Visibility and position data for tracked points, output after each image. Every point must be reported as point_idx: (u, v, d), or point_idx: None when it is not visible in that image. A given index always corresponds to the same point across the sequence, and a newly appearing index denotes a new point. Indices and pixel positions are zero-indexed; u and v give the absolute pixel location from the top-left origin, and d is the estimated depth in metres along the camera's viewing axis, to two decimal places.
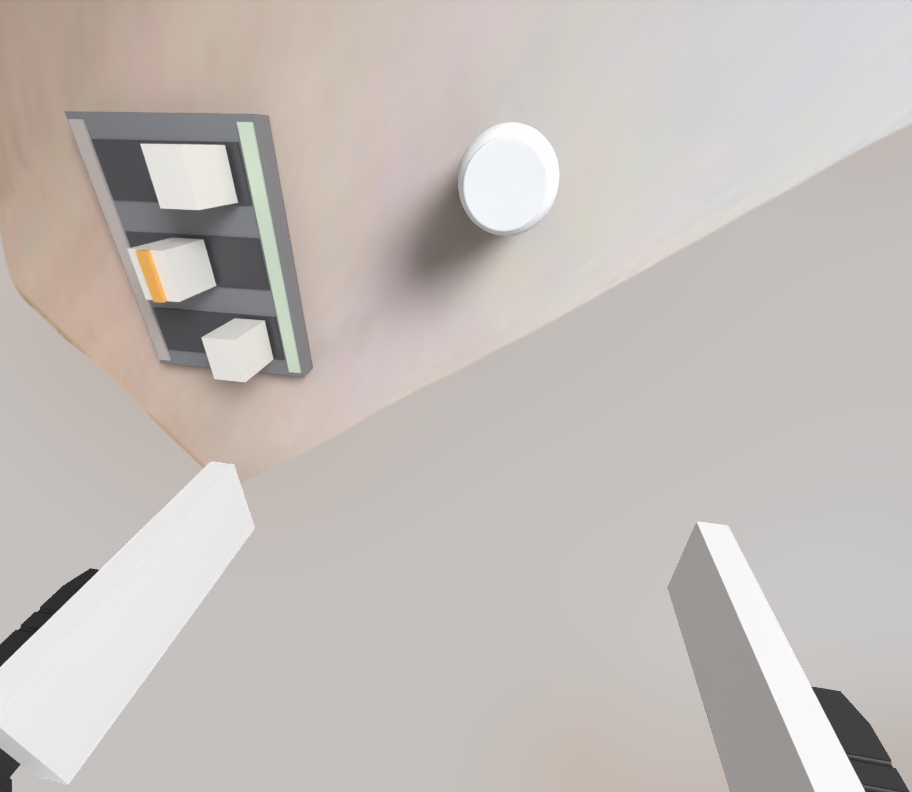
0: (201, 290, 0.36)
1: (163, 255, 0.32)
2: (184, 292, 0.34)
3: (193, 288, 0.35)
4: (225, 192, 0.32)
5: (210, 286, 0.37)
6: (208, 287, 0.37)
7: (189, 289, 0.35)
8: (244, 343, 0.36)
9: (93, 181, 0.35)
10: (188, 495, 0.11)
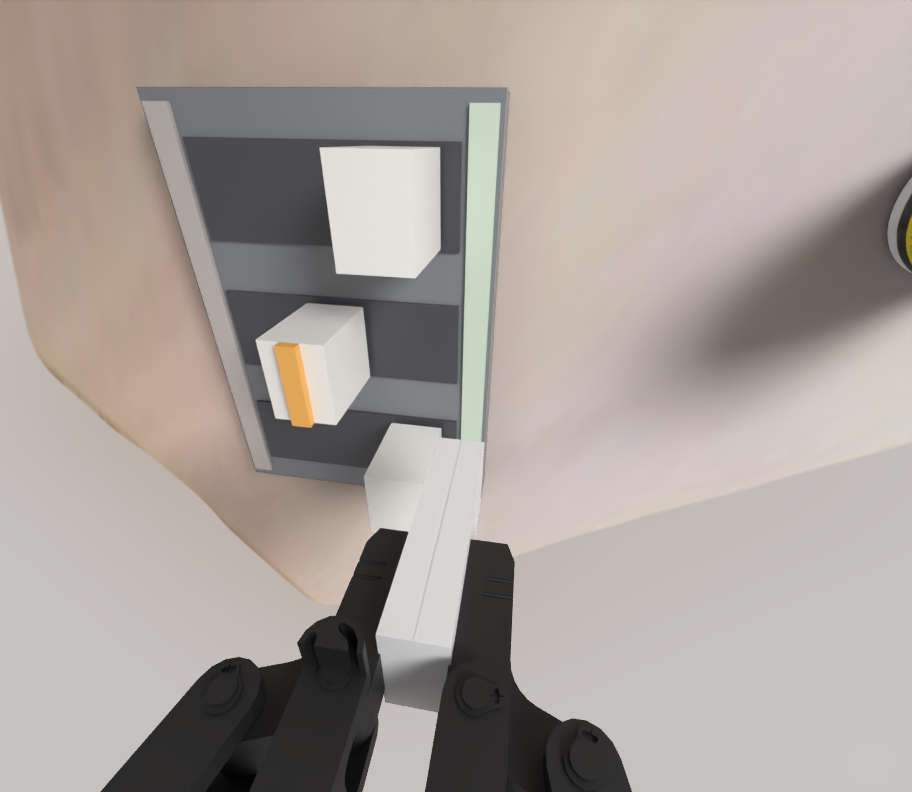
0: (357, 392, 0.22)
1: (323, 352, 0.17)
2: (342, 405, 0.20)
3: (350, 393, 0.21)
4: (434, 234, 0.17)
5: (365, 380, 0.23)
6: (363, 383, 0.22)
7: (346, 397, 0.20)
8: None
9: (178, 210, 0.20)
10: (441, 465, 0.12)
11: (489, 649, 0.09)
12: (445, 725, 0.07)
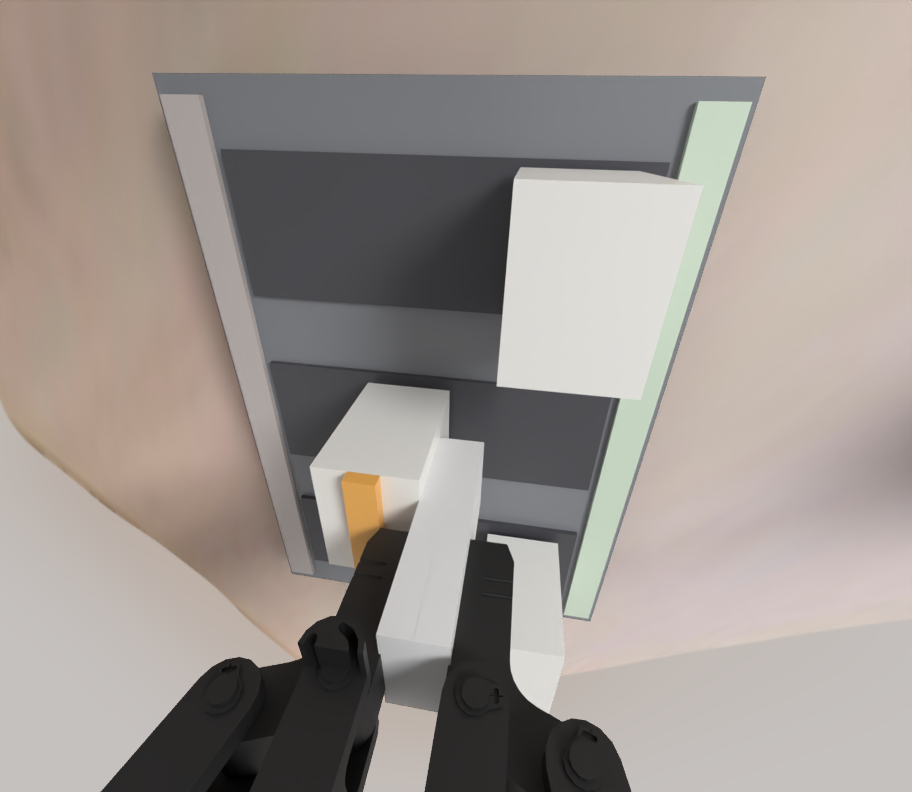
0: None
1: (417, 489, 0.11)
2: None
3: None
4: None
5: None
6: None
7: None
8: None
9: (208, 255, 0.14)
10: (441, 465, 0.12)
11: (489, 649, 0.09)
12: (444, 725, 0.07)
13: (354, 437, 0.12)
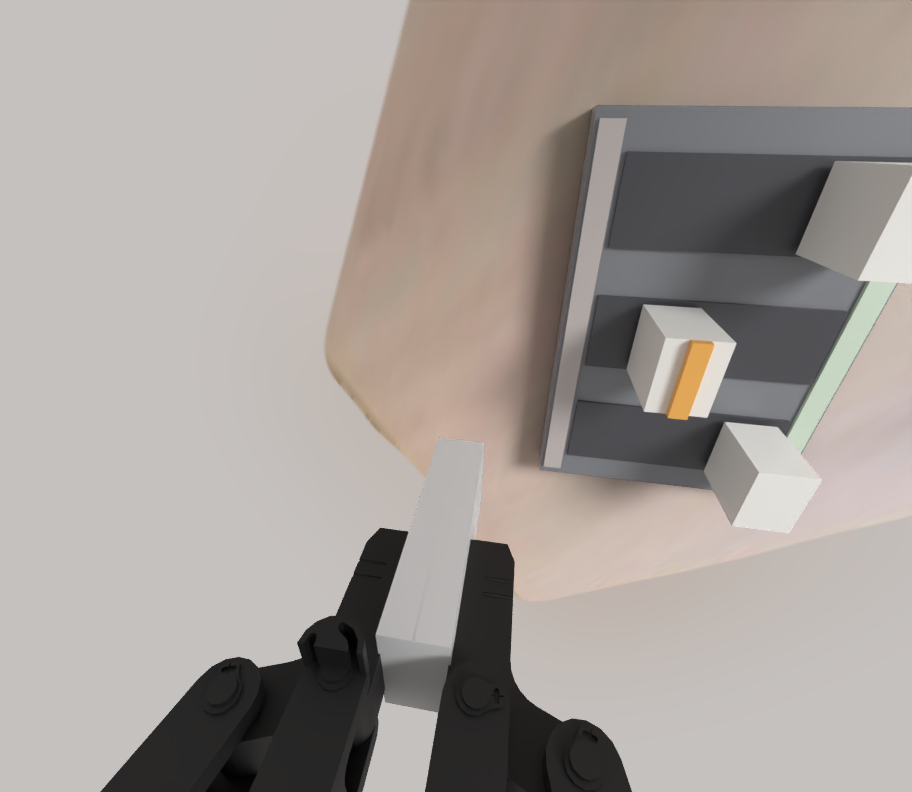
0: None
1: (733, 349, 0.19)
2: None
3: None
4: None
5: None
6: None
7: None
8: None
9: (586, 220, 0.22)
10: (441, 465, 0.12)
11: (489, 649, 0.09)
12: (445, 725, 0.07)
13: (673, 327, 0.20)
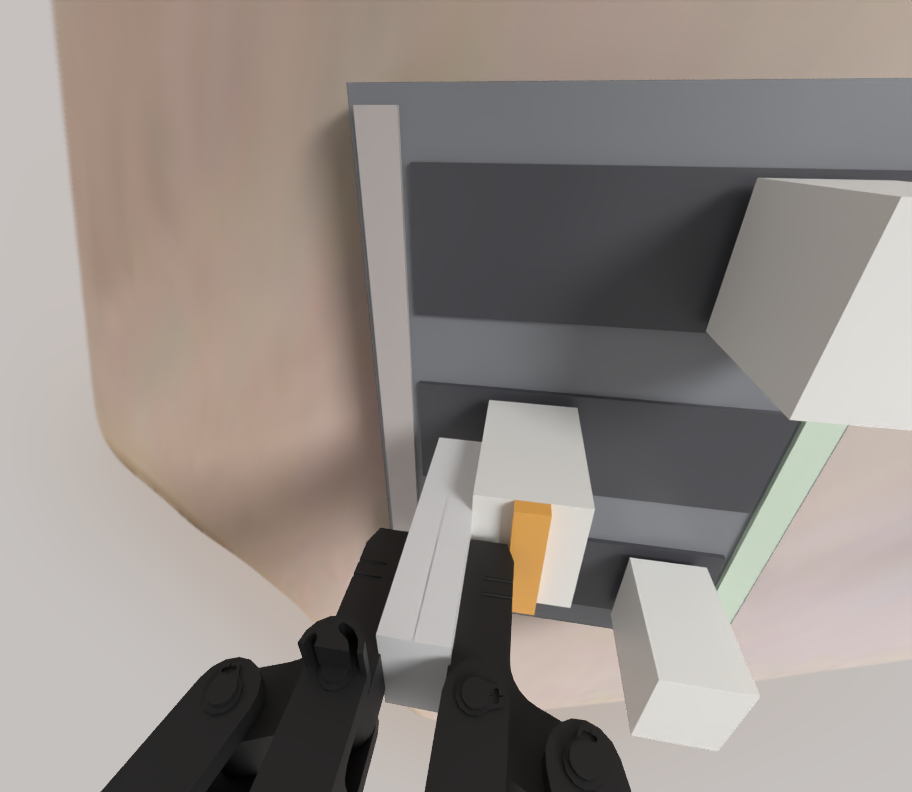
0: None
1: (591, 518, 0.10)
2: None
3: None
4: None
5: None
6: None
7: None
8: None
9: (373, 272, 0.13)
10: (441, 465, 0.12)
11: (489, 649, 0.09)
12: (445, 725, 0.07)
13: (504, 461, 0.12)
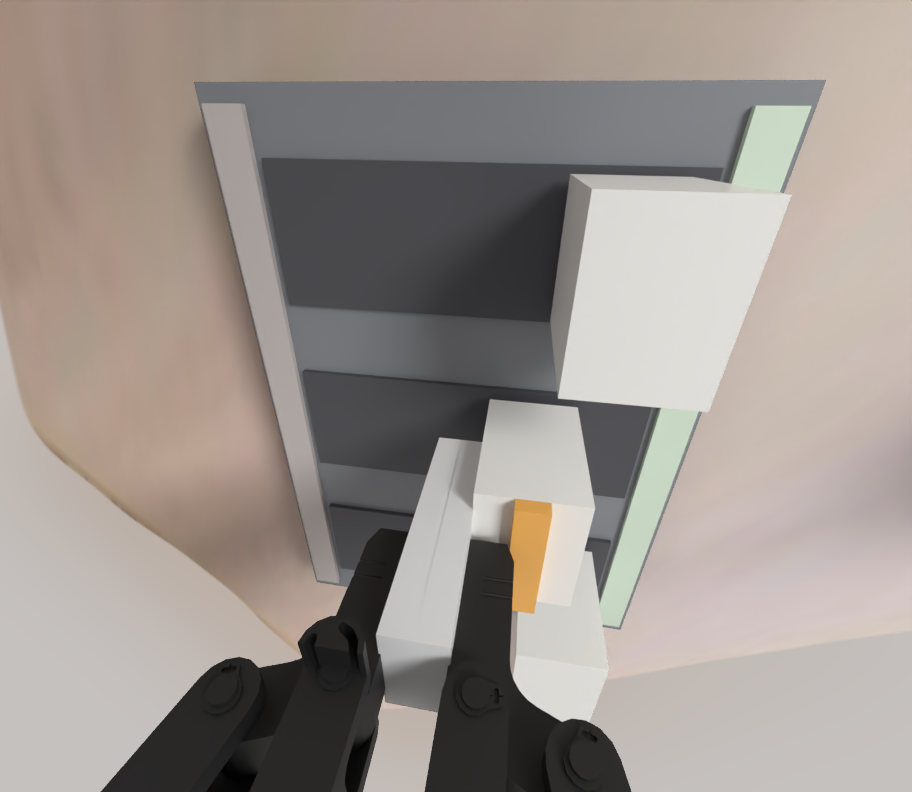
0: None
1: (591, 517, 0.10)
2: None
3: None
4: None
5: None
6: None
7: None
8: None
9: (244, 264, 0.14)
10: (441, 466, 0.12)
11: (489, 649, 0.09)
12: (445, 725, 0.07)
13: (504, 460, 0.12)
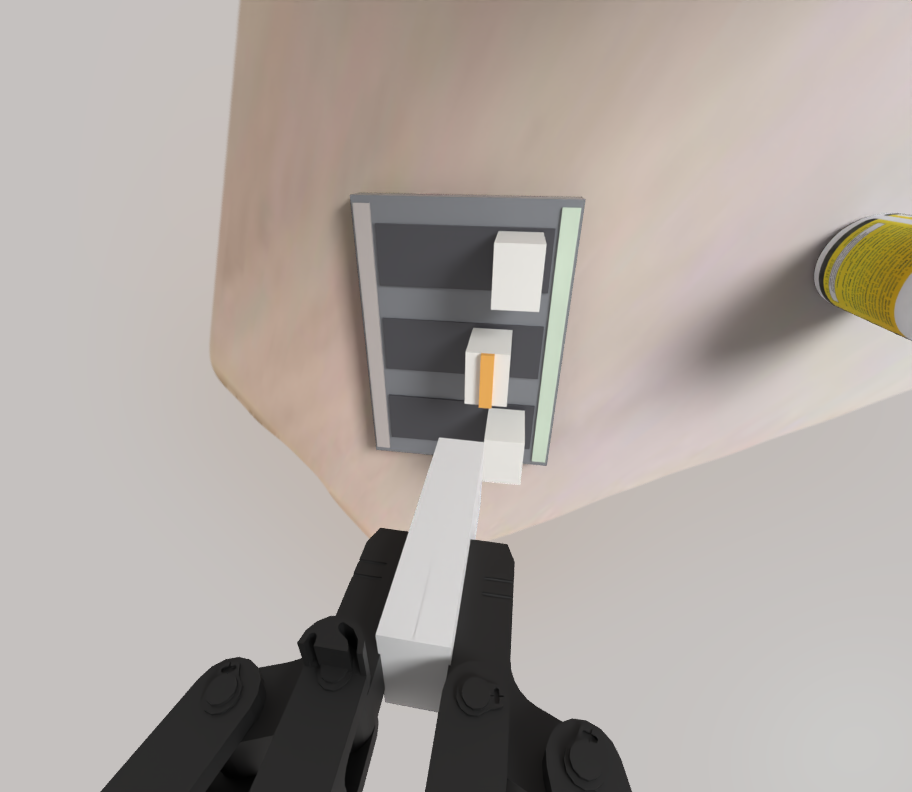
0: None
1: (509, 359, 0.28)
2: None
3: None
4: None
5: None
6: None
7: None
8: None
9: (361, 267, 0.31)
10: (441, 465, 0.12)
11: (489, 649, 0.09)
12: (445, 725, 0.07)
13: (478, 344, 0.29)
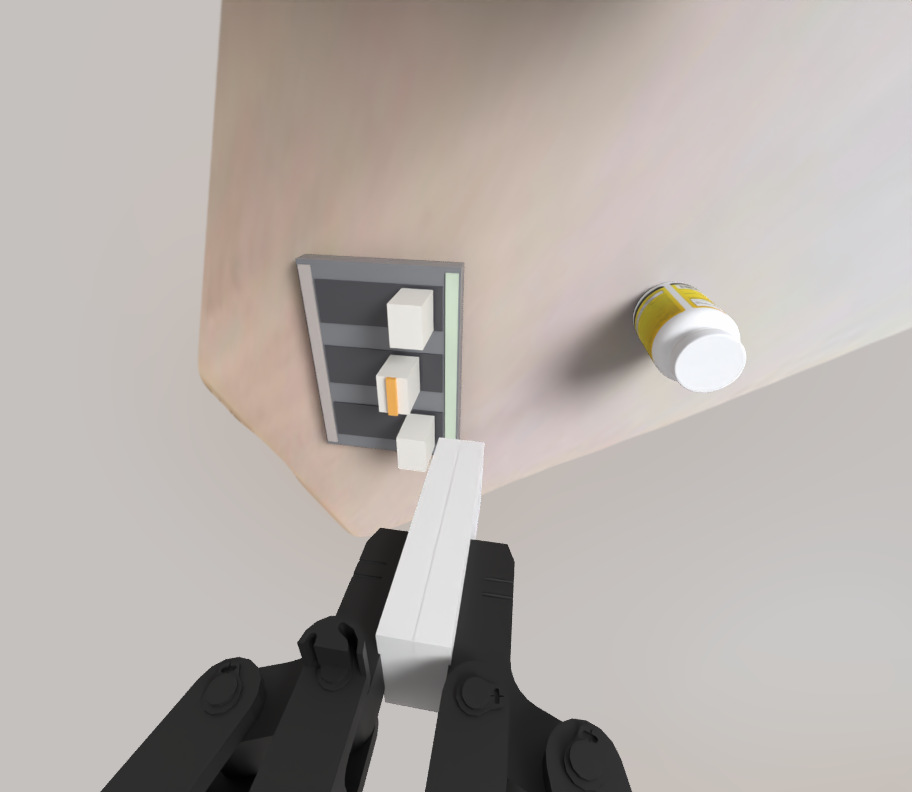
0: (415, 399, 0.43)
1: (407, 381, 0.39)
2: (411, 405, 0.41)
3: (413, 399, 0.42)
4: (430, 326, 0.39)
5: (418, 393, 0.44)
6: (417, 394, 0.44)
7: (412, 401, 0.42)
8: (427, 441, 0.43)
9: (306, 309, 0.42)
10: (441, 466, 0.12)
11: (489, 649, 0.09)
12: (445, 725, 0.07)
13: (387, 369, 0.40)
